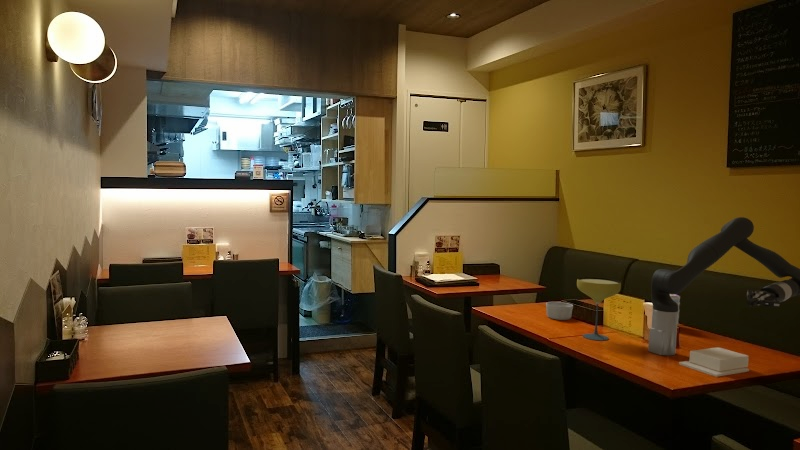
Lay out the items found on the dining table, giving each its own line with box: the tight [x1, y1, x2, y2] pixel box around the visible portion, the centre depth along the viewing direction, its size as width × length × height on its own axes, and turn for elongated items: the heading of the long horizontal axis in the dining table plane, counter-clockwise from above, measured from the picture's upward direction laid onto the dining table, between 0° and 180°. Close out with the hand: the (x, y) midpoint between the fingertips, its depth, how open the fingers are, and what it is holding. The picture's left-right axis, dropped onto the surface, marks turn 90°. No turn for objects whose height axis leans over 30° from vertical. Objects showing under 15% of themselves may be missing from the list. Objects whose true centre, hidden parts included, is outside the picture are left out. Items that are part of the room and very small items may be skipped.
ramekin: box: [545, 301, 574, 321], centre depth 286 cm, size 13×13×7 cm
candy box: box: [670, 294, 681, 326], centre depth 273 cm, size 14×6×16 cm, turn 168°
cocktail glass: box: [576, 276, 622, 342], centre depth 249 cm, size 18×18×25 cm
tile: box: [688, 346, 749, 372], centre depth 212 cm, size 4×12×16 cm
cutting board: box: [678, 360, 750, 378], centre depth 211 cm, size 18×15×1 cm
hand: (749, 303), depth 218 cm, fingers closed
